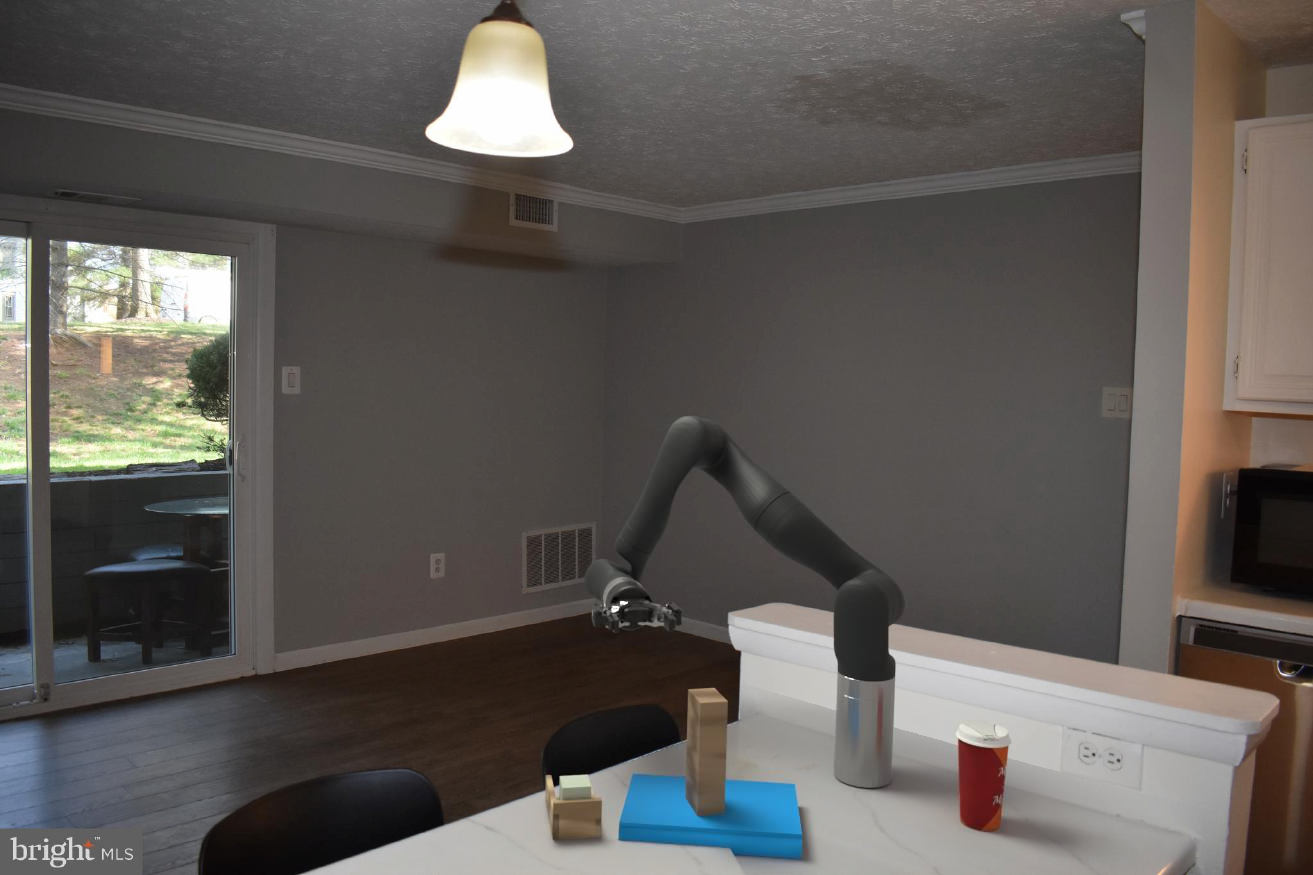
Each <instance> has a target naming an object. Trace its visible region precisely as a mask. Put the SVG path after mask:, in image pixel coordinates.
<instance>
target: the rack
mask: <svg viewBox="0 0 1313 875" xmlns="http://www.w3.org/2000/svg"><path fill="white" fill-rule="evenodd" d="M589 780H590V778H589ZM590 783H591V780H590ZM591 784H592V783H591ZM544 790H545V793H544V794H545V797H544V799H545V804H546V810H547V815H548V820H549V825H550V832H551V836H552V840H553V841H558V840H571V839H572V840H573V839H585V838H586V839H587V838H588V839H589V838H601V837H602V817H603V816H602V813H603V811H602V809H603V808H602V807H603V799H602V797H601V796H599V797H596V795H595V793H594V789H593V786H592V785H591V798H582V799H566V800H559V796H558V797H557V796H556V792H555V786H554V782H553V777H552V775H551V774H546V775H545V789H544Z"/></svg>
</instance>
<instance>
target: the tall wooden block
mask: <svg viewBox="0 0 1313 875" xmlns="http://www.w3.org/2000/svg"><path fill="white" fill-rule="evenodd" d="M728 710H729V702H728V699H726V698H725V696H723V695H722V694H721V693H720V692H719V691H718V690H717V688H715V687H709V688H708V687H707V688H706V687H705V688H690V689H687V717H686V718H687V719H686V720H687V726H686V727H687V729H686V754H685V755H686V760H685V761H686V762H685V777H686V788H685V798H686V800H687V801H688V803H689V804H690V806H691V807H692V809H693V810H694V812H695V814H696V815H697V816H705V815H716V814H724V813H725V780H727V779H726V774H727V744H728V743H727V742H728V740H727V739H728V738H727V737H728V715H729V714H728Z"/></svg>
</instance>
